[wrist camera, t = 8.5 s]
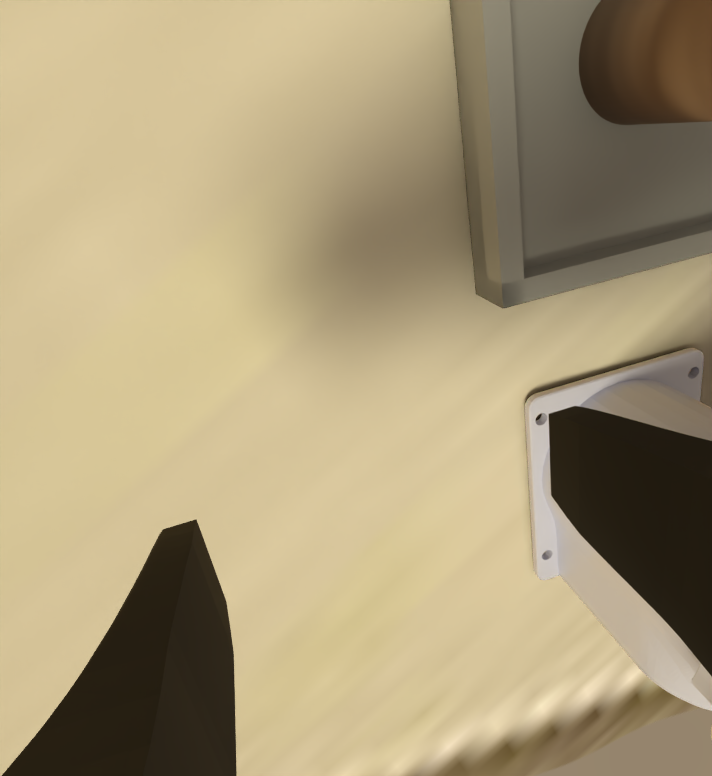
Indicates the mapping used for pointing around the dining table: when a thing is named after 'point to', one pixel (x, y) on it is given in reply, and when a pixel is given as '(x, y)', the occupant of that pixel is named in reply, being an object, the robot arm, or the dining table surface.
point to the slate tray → (564, 161)
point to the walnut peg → (648, 61)
